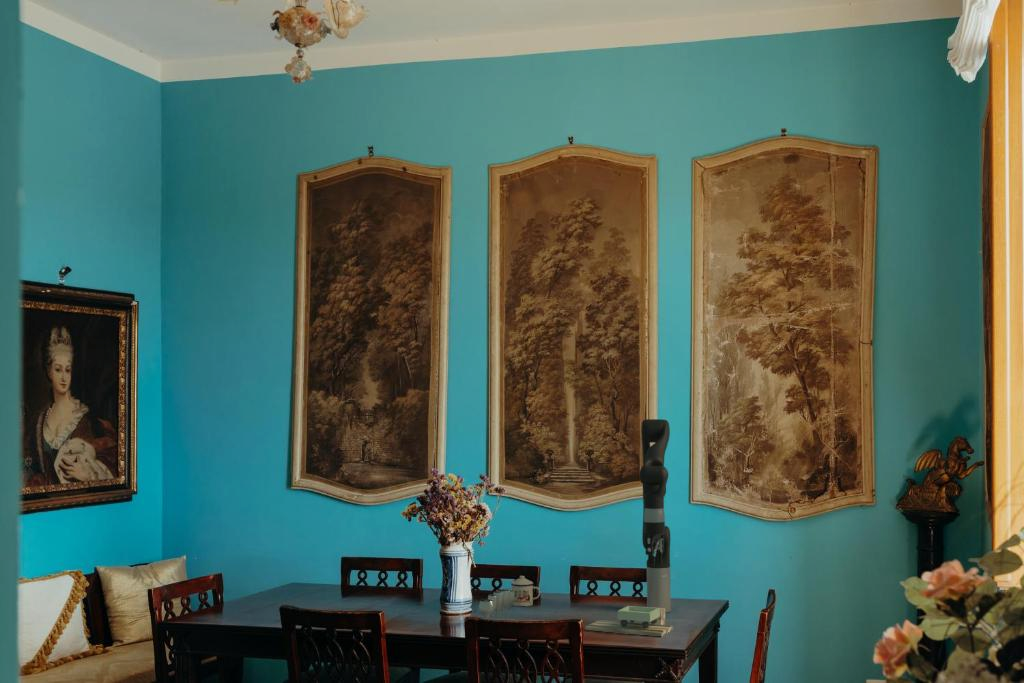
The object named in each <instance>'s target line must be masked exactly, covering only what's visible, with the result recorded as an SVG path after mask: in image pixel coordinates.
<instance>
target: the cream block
mask: <svg viewBox="0 0 1024 683" xmlns="http://www.w3.org/2000/svg"><path fill="white" fill-rule="evenodd" d="M652 608H653V607H652ZM649 624H652V623H651V622H649ZM655 624H657V625H666V613H665V608H660V617H658V618H657V622H656V623H655Z"/></svg>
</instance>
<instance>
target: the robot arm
mask: <svg viewBox="0 0 1024 683" xmlns="http://www.w3.org/2000/svg"><path fill="white" fill-rule="evenodd" d="M670 427H671V426H670V423H669V421H668V420H666V419H663V418H662V419H660V418H659V419H656V418H655V419H654V418H653V419H651V418H649V419H643V420H642V422H641V428H640V432H641V433H640V434H641V448H642V466H641V468H640V470H639V475H638V477H639V478H638V479H639V481H640V483H642V504H643V506H642V507H643V508H642V510H643V512H642V513H643V516H642V533H641V534H642V537H641V538H642V546H643V548H644V549H645V555H646V556H647V560H646V607H650V608H652V607H653V608H665V614H666V613H671V611H672V606H671V602H672V598H671V531H670V527H669V526H667V525H666V521H665V520H666V519H665V518H666V517H665V516H666V515H665V499H664V498H665V497H666V494H667V483H668V479H669V471H668V469H667V467H665V455H666V450H667V448H668V445H669V440H670V433H671V430H670V429H671V428H670ZM651 443H653V444H652V445H651Z"/></svg>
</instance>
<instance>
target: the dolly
mask: <svg viewBox="0 0 1024 683" xmlns="http://www.w3.org/2000/svg"><path fill="white" fill-rule="evenodd" d="M658 617H660V608H650V607H647V606H637V605H636V606H633V605H627V606H624V607H622V608H620V609H619V610H617V620H618V621H619V620H620V624H621V626H623V627H625V626H627V624H628V622H632V623H635V622H641V623H642V627H643V628H648V627H649V622H651V623H652V624H655V623H656V622H657V618H658Z"/></svg>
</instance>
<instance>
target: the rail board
mask: <svg viewBox="0 0 1024 683" xmlns="http://www.w3.org/2000/svg"><path fill="white" fill-rule="evenodd" d="M620 622H621V620H620V621H619V620H618V621H614V620H604V619H597V620H596V621H595V622H591V623H588V624H587V625H586V626H585V631H586V630H595V631H604V632H603V633H605V632H617V633H628V634H640V635H650V636H649V637H651V636H662V637H664V636H665V635H664V634H666V633H667V634H669V633H671V632H672V631H674V625H668V624H667V625H666V624H665V625H657V624H649V627H648V628H643V627H642V623H643V622H630V621H627V622H628V624H627V626H625V627H623V626H621V624H620ZM671 630H672V631H671ZM670 631H671V632H670ZM668 632H669V633H668ZM628 634H627V635H628ZM667 634H666V635H667ZM640 635H639V636H640ZM663 635H664V636H663Z"/></svg>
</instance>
